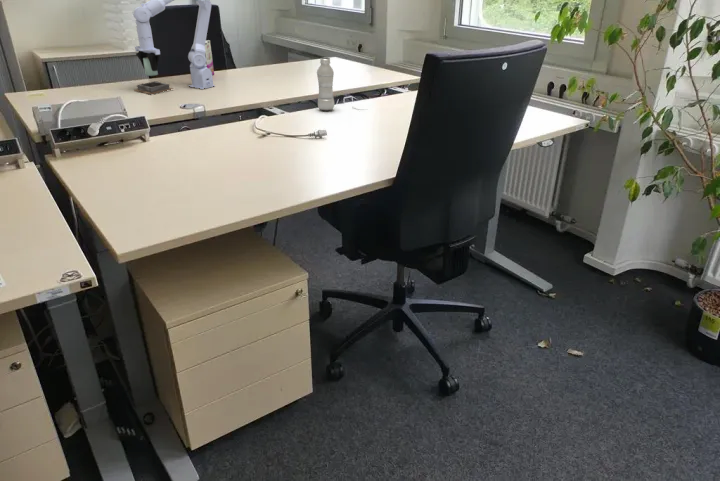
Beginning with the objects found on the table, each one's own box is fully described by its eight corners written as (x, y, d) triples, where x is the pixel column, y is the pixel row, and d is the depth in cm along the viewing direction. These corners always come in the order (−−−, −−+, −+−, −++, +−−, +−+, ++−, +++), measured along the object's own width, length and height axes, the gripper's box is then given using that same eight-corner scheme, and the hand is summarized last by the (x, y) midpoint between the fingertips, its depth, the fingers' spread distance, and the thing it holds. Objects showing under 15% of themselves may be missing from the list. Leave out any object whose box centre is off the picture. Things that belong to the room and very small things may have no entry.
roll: (160, 74, 240) (158, 57, 237) (151, 76, 236) (148, 59, 233) (152, 72, 243) (149, 56, 239) (142, 74, 239) (140, 58, 235)
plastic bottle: (332, 112, 215) (331, 60, 205) (315, 111, 216) (314, 59, 206) (336, 108, 220) (335, 57, 211) (320, 107, 221) (319, 56, 212)
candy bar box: (204, 74, 274) (200, 40, 266) (214, 74, 274) (210, 40, 266) (198, 79, 264) (194, 43, 257) (208, 79, 264) (204, 43, 257)
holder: (173, 90, 244) (172, 84, 243) (151, 95, 235) (150, 89, 234) (156, 86, 250) (155, 80, 249) (134, 91, 241) (133, 85, 240)
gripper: (126, 36, 233) (132, 69, 239) (147, 40, 225) (153, 73, 232) (140, 34, 238) (146, 66, 244) (162, 38, 231) (167, 71, 237)
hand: (150, 70), depth 238 cm, fingers closed on roll, 5 cm apart
